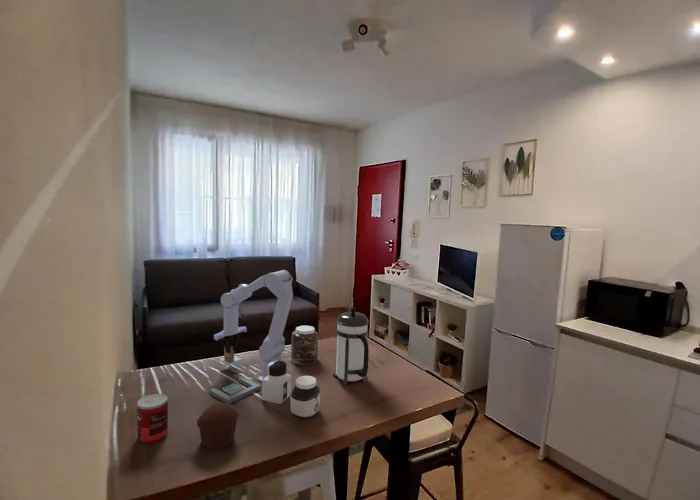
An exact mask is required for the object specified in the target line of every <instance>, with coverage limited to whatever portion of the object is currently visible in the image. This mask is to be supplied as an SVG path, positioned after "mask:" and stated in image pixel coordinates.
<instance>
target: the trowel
mask: <svg viewBox="0 0 700 500" xmlns="http://www.w3.org/2000/svg"><path fill="white" fill-rule="evenodd" d="M223 352H224V353H223V354H224V355H223V356H224V357H222V358H220V359H219V362H220V363H223V364H226V365H228V366H231V365H234V364H237V363H239V362H242V360H243V358H241V357H239V356H235V352H234V346H232V345H231V351H230V353H229V354H228V353H226V350H225V347H224V346H223Z"/></svg>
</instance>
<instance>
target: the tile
mask: <svg viewBox="0 0 700 500" xmlns="http://www.w3.org/2000/svg"><path fill="white" fill-rule="evenodd" d="M242 390H243V387H242V386H240V385H239V384H236V383H235V382H234V383H231V384H229V385H226V386H224V387H222V392H224V393H226V394H227V395H229V396H231V395H233V394H235V393H238V392H240V391H242Z"/></svg>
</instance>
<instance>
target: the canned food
mask: <svg viewBox="0 0 700 500" xmlns="http://www.w3.org/2000/svg"><path fill="white" fill-rule="evenodd" d="M168 400H169V399H168V396H167V395H166V394H163V393H152V394H148V395H144V396H142V397H141V398H140V399H138V400H137V403H136V423H137V424H136V428H137V438H138V441H139V442H141V443H144V444H152V443H153V444H154V443H156V442H159V441H160V440H163V439H164V438H165V437H166V436H167V434H168V431H169V408H168V407H169V404H168V402H169V401H168Z"/></svg>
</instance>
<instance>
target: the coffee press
mask: <svg viewBox="0 0 700 500" xmlns="http://www.w3.org/2000/svg"><path fill="white" fill-rule="evenodd" d="M336 323H337V328H336V356H335V359H336V360H335V371H334V372H333V373H332V376H333V377H334V378H335V377H337V378H338V379H340V380H342V381H343V383H342V386H343V387H346V388H347V387H348V383H349V382H357V381H360V380H362V381H363V383H365V380H366V381H367V382H369V377H368V376H367V375H368V372H369V371H368V370H369V354H370V353H369V341H368V333H369V332H368V331H369V330H368V329H369V328H368V325H369V319H368V317H367V316H366V315H365V314H364V313H362V312H359V311H357V309H356V307H354V306H353V307H351V308H350V311H346V312H342V313H341V314H339V316H338V317H337V318H336ZM364 377H365V378H364Z"/></svg>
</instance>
